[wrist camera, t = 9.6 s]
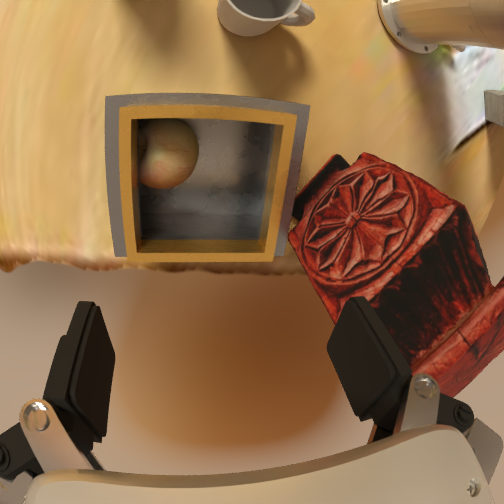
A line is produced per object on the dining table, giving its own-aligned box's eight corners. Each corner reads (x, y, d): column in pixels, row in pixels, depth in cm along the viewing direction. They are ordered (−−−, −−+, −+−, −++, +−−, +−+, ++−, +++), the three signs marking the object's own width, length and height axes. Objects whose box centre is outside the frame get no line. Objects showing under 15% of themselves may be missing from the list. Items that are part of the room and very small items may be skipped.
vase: (335, 135, 35) (539, 259, 10) (386, 195, 41) (530, 324, 16) (267, 210, 39) (378, 419, 14) (328, 257, 45) (431, 419, 20)
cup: (226, -18, 21) (237, -48, 14) (305, 6, 24) (336, -13, 17) (208, 29, 25) (213, 9, 17) (289, 52, 28) (318, 42, 20)
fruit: (168, 151, 33) (109, 142, 27) (202, 113, 28) (138, 95, 22) (179, 204, 31) (114, 200, 25) (219, 168, 27) (145, 155, 21)
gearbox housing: (280, 100, 31) (321, 107, 21) (263, 217, 39) (290, 269, 29) (130, 94, 27) (96, 97, 17) (131, 216, 35) (109, 270, 25)
